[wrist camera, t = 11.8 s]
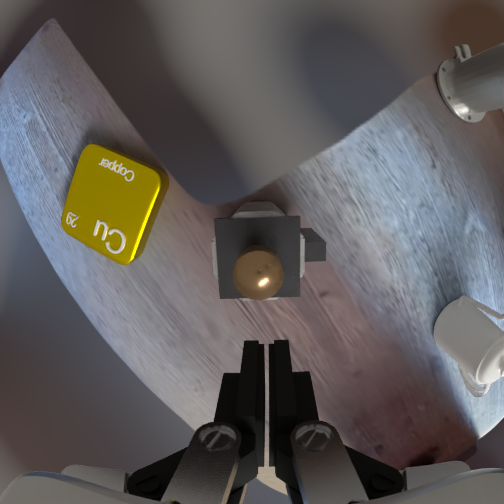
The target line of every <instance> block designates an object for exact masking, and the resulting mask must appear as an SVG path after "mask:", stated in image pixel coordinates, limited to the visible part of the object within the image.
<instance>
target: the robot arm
mask: <svg viewBox="0 0 504 504" xmlns="http://www.w3.org/2000/svg"><path fill="white" fill-rule="evenodd" d="M460 47H461V50H460ZM460 47H458V46H455V47H453V48H454V51H455V54H456V58H455V59H448V60H445V61H444V62H442V63H441V64H440V65H439V67H438V70H437V83H438V88H439V91H440V93H441V96H442V98H443V100H444V101H445V103H446V105H447V106H448V108H449V109H450V110H451V111H452V112H453V113H454V115H456V116H457V117H458V118H459V119H461V120H463V121H465V122H468V123H475V122H479V121H481V120H482V119H483V117H484V116H485V113H486V111H491V110H496V109H501V108H504V43H502V44H500V45H498V46H495V47H493V48H491V49H488V50H486V51H484V52H482V53H480V54H478V55H475V56H473V57H471V52H470V48H469V46H468V45H461V46H460ZM461 51H462V54H463V56H464V58H463V57H462V55H461ZM264 448H265V359H264V344H259V340H253V341H244V347H243V355H242V363H241V371H240V373H224V374H223V378H222V383H221V388H220V393H219V398H218V403H217V408H216V412H215V417H214V422H209V423H207V424H204V425H202V426H201V427H199V428H198V429H197V430H196V432H195V433H194V435H193V437H192V439H191V441H190V443H189V445H188V447H186V448H184V449H182V450H181V451H178V452H176V453H174V454H172V455H170V456H168V457H166V458H164V459H162V460H159V461H157V462H155V463H153V464H151V465H148V466H146V467H144V468H142V469H139V470H137V471H136V472H134V473H127V472H126V470H116V469H105V468H97V467H89V466H82V465H71V466H68V467H66V468H65V469H64V470H63V471H62V473H61V474H58V473H51V472H27V473H24V474H22V475H20V476H18V477H17V478H16V479H15V480H14V481H12V482H11V483H10V485H9V486H8V487H7V488H6V489H5V491H4V492H3V494H2V495H1V496H0V504H242V502H243V499H244V495H245V492H246V488H247V483H248V482H249V481H251V480H252V479H254V478H255V477H257V474H258V467H264ZM271 466H275V474H276V477H278V478H279V479H281V480H282V481H283V482H285V483H286V490H287V494H288V498H289V502H290V504H504V469H499V468H487V469H478V470H470V468H469V466H468V465H467V464H465V463H464V462H461V461H451V462H445V463H439V464H432V465H425V466H417V467H407V468H405V470H400V471H398V470H397V469H395V468H393V467H391V466H389V465H386V464H384V463H382V462H379V461H377V460H375V459H373V458H371V457H368V456H366V455H364V454H362V453H360V452H358V451H356V450H354V449H352V448H350V447H348V446H346V445H344V444H343V442H342V440H341V437H340V435H339V433H338V431H337V430H336V428H335V427H334V426H332V425H331V424H330V423H327V422H324V421H319V417H318V412H317V406H316V401H315V396H314V391H313V386H312V381H311V376H310V372H309V371H305V372H292V365H291V357H290V349H289V341H288V340H274V344H269V467H271Z"/></svg>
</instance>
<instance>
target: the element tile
mask: <svg viewBox="0 0 504 504" xmlns="http://www.w3.org/2000/svg"><path fill="white" fill-rule="evenodd" d="M168 187H169V178H168V175H167V174H166V173H165V172H164V171H162V170H160V169H158V168H156V167H154V166H152V165H149V164H147V163H145V162H143V161H140V160H138V159H136V158H133V157H131V156H129V155H127V154H124V153H122V152H120V151H117V150H115V149H113V148H110V147H108V146H103V145H97V144H89V145H88V146H86V147H85V148H84V149H83V151H82V153H81V155H80V158H79V161H78V164H77V167H76V170H75V173H74V176H73V179H72V182H71V185H70V188H69V192H68V195H67V198H66V202H65V206H64V209H63V213H62V217H61V225H62V228H63V229H64V231H65V232H66V233H67V234H69V235H70V236H72V237H74V238H75V239H77V240H79V241H80V242H82V243H84V244H85V245H87V246H89V247H90V248H92V249H94V250H95V251H97V252H99V253H101V254H102V255H104V256H106V257H108V258H109V259H111V260H113V261H115V262H116V263H118V264H121V265H127V264H130V263H131V262H133V261H134V260H135V259H137V258H138V257H139V256H140V255H141V254H142V253H143V251H144V248H145V245H146V242H147V240H148V237H149V234H150V232H151V229H152V227H153V224H154V222H155V219H156V217H157V214H158V212H159V209H160V207H161V204H162V202H163V200H164V197H165V195H166V192H167V190H168Z"/></svg>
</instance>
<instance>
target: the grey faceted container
mask: <svg viewBox="0 0 504 504" xmlns="http://www.w3.org/2000/svg"><path fill="white" fill-rule="evenodd" d="M214 223H215V237H214V238H213V239H212V254H213V267H214V276H216V277H215V278H216V279H217V280H218V281H219V293H220V299H235V298H239V299H242V298H243V300H252V299H249V298H246V297H245V296H243V295H242V294H241V293H240V292H239V291H238V290H237V289H236V287H235V285H234V282H233V270H234V267H235V263H236V260H237V258H238V256H239V254H240V253H241V252H242V251H243V250H245V249H246V248H248V247H250V246H254V245H262V246H266V247H269V248H271V249H272V250H273V251H275V252H276V253H277V255H278V256H279V258H280V261H281V264H282V268H283V273H284V280H283V284H282V286H281V288H280V289H279V291H278V292H277V293H276V294H275V295H273V296H272V297H270V298H268V299H265V300H277V297H278V298H280V297H300V278H301V277H302V276H303V273H304V262H311V261H326V242H325V241H324V240H323V239H322V238H321V237H320V236H319V235H318V234H317V233H316V232H315V231H314V230H313V229H312V228H300V216H286V215H285V213H284V212H283V211H282V210H281V209H280V208H279V207H278V206H276V205H275V204H274V203H273V202H271V201H259V200H258V201H251V202H245V203H243V204H242V205H241V206H240V207H239V208H238V209H237V210H236V211H235V212H234V213H233V215H232V216H231V217H230V218H215V219H214Z"/></svg>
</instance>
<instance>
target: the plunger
mask: <svg viewBox="0 0 504 504" xmlns="http://www.w3.org/2000/svg"><path fill="white" fill-rule="evenodd" d="M283 280H284V273H283V268H282V264H281V261H280V258H279V256H278V255H277V253H276V252H275V251H273V250H272V249H271V248H269V247H266V246H262V245H254V246H250V247H248V248H246V249H245V250H243V251H242V252H241V253H240V254H239V256H238V258H237V260H236V263H235V267H234V270H233V282H234V285H235V287H236V289H237V290H238V291H239V292H240V293H241V294H242V295H243V296H245V297H246V298H249V299H252V300H265V299H268V298H270V297H272V296H273V295H275V294H276V293H277V292H278V291H279V289H280V288H281V286H282V284H283Z"/></svg>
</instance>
